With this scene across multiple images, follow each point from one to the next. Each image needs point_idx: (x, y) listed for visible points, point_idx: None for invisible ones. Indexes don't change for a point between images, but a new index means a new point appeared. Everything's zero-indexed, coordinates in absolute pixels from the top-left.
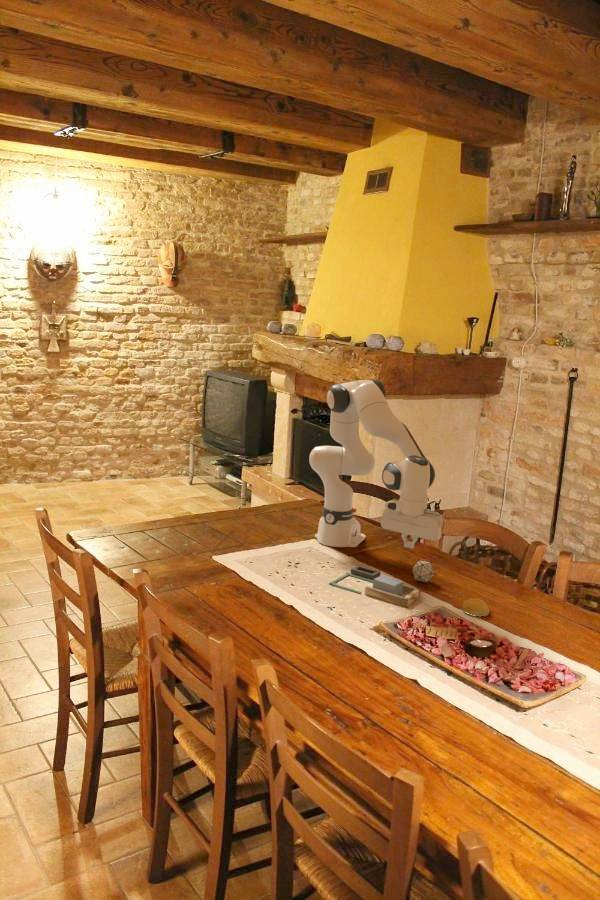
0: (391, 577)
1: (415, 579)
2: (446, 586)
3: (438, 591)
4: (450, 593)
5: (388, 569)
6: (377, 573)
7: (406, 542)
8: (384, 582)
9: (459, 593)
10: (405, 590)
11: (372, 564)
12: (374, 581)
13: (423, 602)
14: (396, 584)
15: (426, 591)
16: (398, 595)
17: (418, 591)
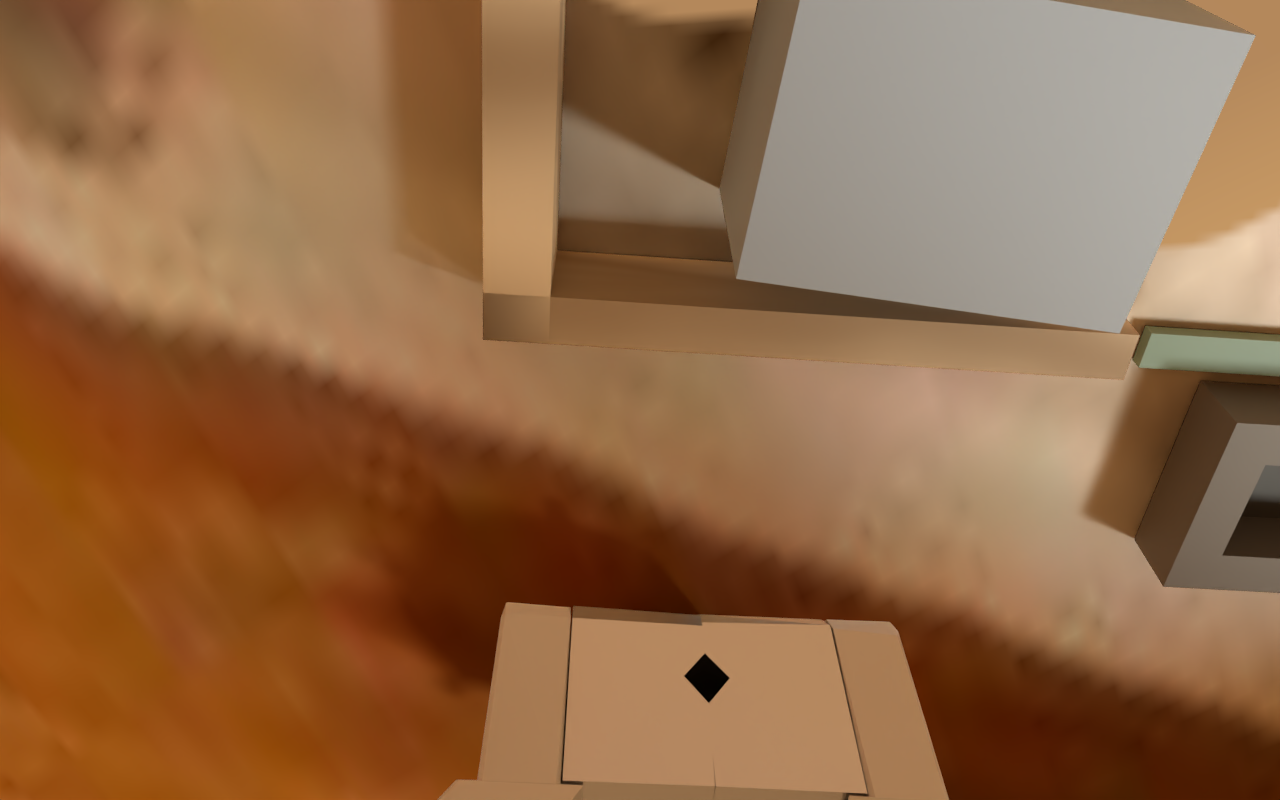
0: (962, 308)
1: None
2: (391, 697)
3: (392, 546)
4: (261, 571)
5: (1079, 745)
6: (1192, 515)
7: (810, 789)
8: (1026, 10)
9: (190, 621)
10: (701, 277)
11: (1272, 764)
12: (1214, 24)
13: (367, 123)
14: (796, 64)
15: (501, 471)
16: (742, 89)
17: (484, 256)
